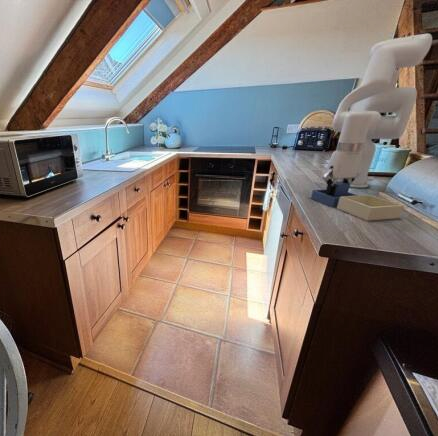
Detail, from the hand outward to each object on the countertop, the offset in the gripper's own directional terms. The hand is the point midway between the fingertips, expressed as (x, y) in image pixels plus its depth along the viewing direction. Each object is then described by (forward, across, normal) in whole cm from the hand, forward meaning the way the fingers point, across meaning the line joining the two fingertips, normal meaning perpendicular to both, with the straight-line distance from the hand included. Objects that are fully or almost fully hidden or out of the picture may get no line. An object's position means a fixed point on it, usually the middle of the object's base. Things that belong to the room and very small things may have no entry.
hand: (335, 194), depth 97 cm
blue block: (0, 0, 0) cm, 0 cm away
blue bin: (+3, 0, 0) cm, 3 cm away
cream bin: (+3, -1, +13) cm, 13 cm away
